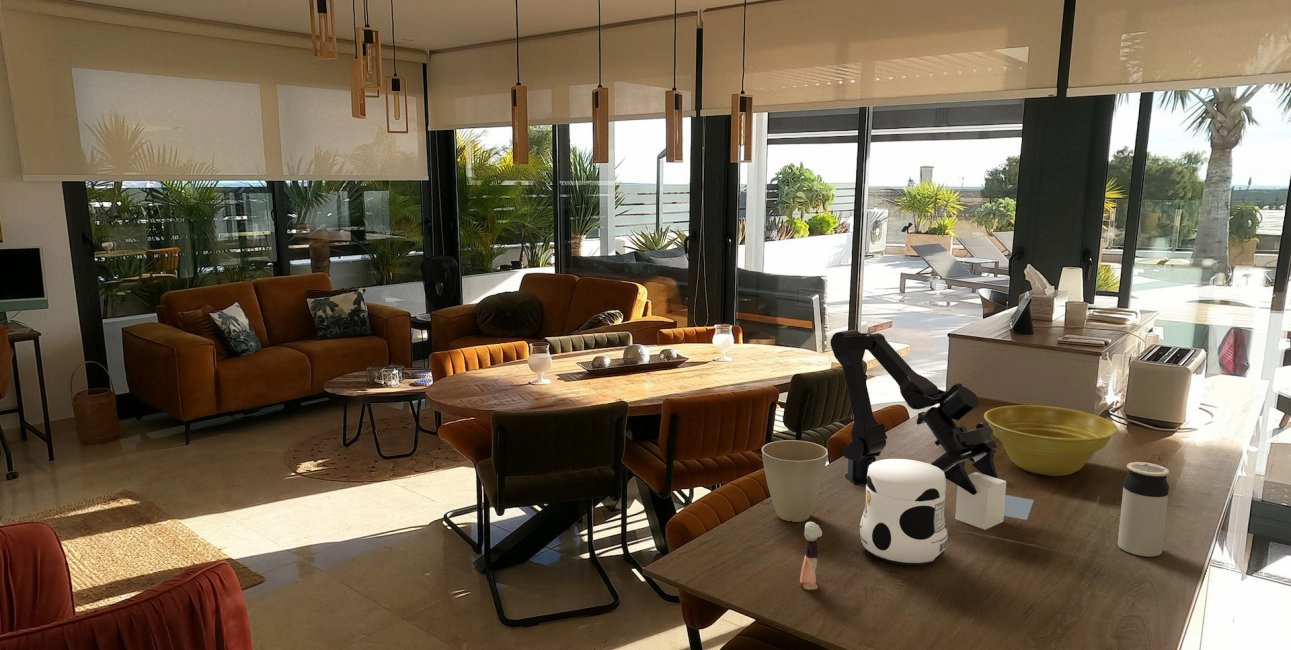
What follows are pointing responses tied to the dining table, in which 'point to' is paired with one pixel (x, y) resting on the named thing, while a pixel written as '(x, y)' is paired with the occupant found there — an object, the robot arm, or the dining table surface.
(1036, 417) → the planter bowl
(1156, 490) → the travel mug
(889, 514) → the milk container
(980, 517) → the white rectangular block
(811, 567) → the grandmother figurine
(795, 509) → the plant pot
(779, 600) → the dining table surface
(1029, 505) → the mat
